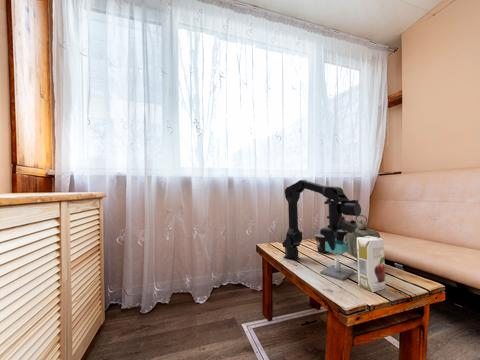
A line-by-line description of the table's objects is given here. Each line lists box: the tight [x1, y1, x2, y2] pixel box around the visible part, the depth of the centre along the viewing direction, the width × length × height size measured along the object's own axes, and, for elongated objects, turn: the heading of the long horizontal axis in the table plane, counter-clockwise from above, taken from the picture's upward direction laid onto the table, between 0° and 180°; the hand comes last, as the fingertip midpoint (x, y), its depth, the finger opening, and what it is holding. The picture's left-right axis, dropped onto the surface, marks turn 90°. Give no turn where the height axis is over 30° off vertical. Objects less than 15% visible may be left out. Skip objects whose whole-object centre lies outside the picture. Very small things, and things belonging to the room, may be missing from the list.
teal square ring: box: [325, 239, 348, 255], centre depth 97 cm, size 7×7×4 cm
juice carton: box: [356, 236, 386, 293], centre depth 83 cm, size 8×9×19 cm
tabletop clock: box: [344, 214, 381, 259], centre depth 107 cm, size 14×9×25 cm, turn 14°
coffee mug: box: [314, 233, 330, 255], centre depth 130 cm, size 12×9×10 cm
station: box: [320, 258, 355, 281], centre depth 96 cm, size 10×12×6 cm
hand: (336, 248), depth 97 cm, fingers closed on teal square ring, 7 cm apart
